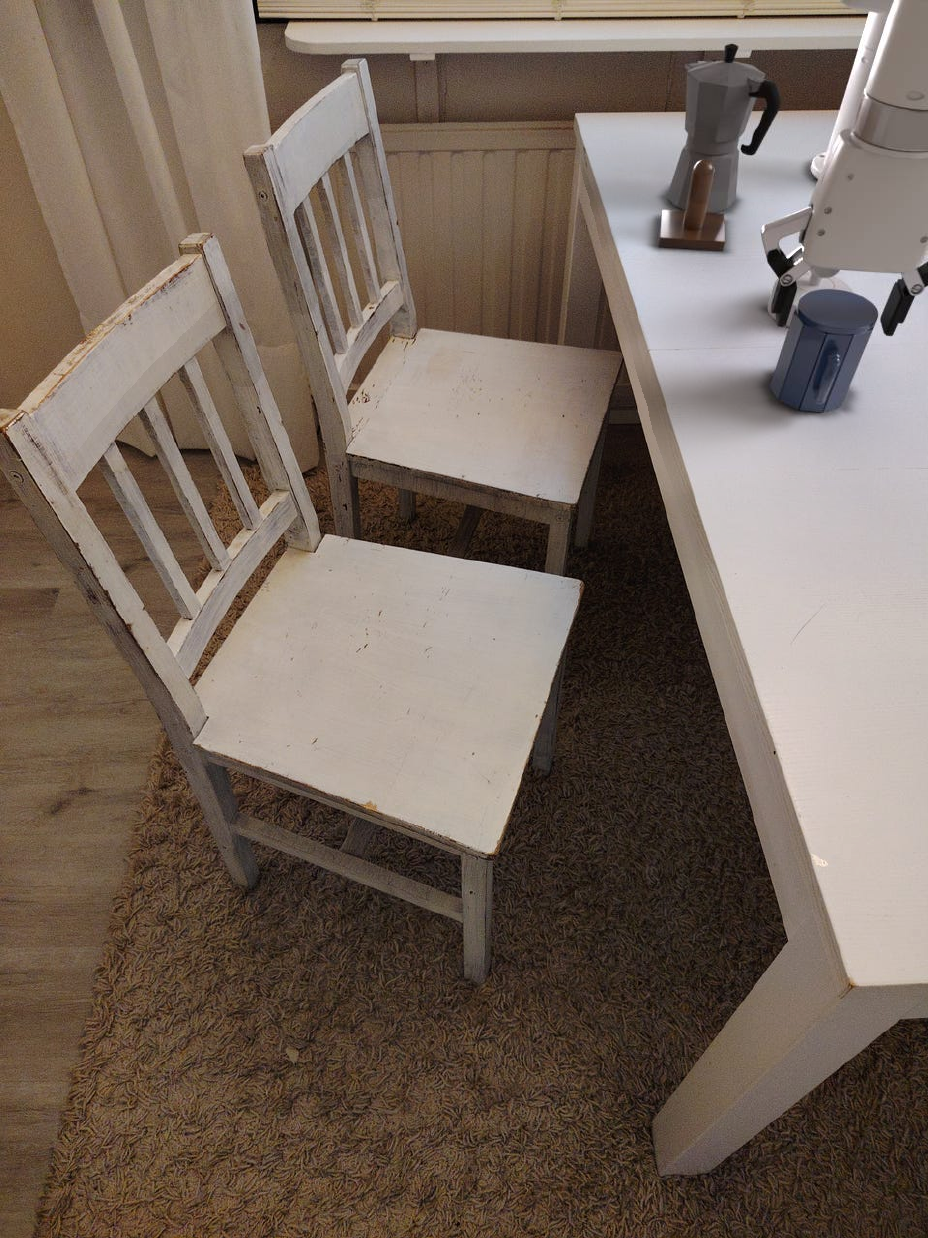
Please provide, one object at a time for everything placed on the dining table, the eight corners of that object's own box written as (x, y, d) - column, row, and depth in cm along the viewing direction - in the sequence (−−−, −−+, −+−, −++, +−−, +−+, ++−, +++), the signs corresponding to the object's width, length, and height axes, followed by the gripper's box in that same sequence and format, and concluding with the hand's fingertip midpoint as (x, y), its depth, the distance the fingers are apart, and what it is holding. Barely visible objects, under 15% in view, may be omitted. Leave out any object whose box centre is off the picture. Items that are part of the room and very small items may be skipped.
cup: (768, 367, 84) (793, 285, 77) (842, 373, 83) (874, 291, 76) (772, 419, 78) (800, 336, 71) (852, 426, 77) (888, 343, 70)
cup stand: (660, 218, 106) (673, 145, 99) (722, 222, 105) (738, 148, 98) (658, 246, 101) (671, 171, 94) (723, 250, 100) (740, 175, 93)
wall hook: (788, 245, 81) (795, 204, 87) (762, 331, 88) (771, 287, 94) (877, 257, 79) (878, 214, 85) (843, 343, 86) (847, 298, 92)
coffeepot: (642, 192, 111) (664, 38, 98) (689, 174, 115) (718, 23, 101) (725, 232, 103) (763, 70, 89) (773, 211, 107) (817, 53, 93)
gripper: (1013, 109, 63) (921, 311, 76) (788, 99, 66) (737, 297, 79) (1038, 145, 58) (936, 353, 72) (795, 133, 61) (739, 337, 74)
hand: (832, 324), depth 75 cm, fingers open, 9 cm apart
